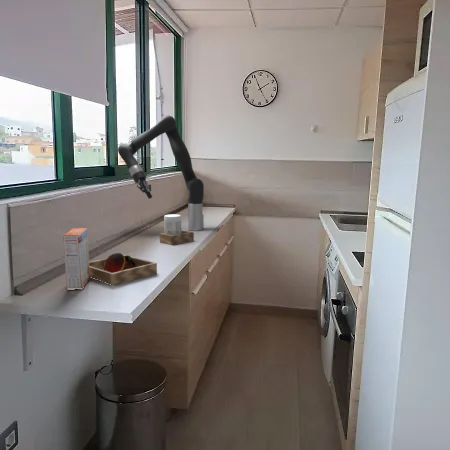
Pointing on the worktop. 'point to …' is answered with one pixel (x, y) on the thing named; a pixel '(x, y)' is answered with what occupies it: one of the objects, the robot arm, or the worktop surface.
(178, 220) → the supplement tub
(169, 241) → the cradle
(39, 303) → the worktop surface
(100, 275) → the fruit corral
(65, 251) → the cracker box
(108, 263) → the red oval lump
